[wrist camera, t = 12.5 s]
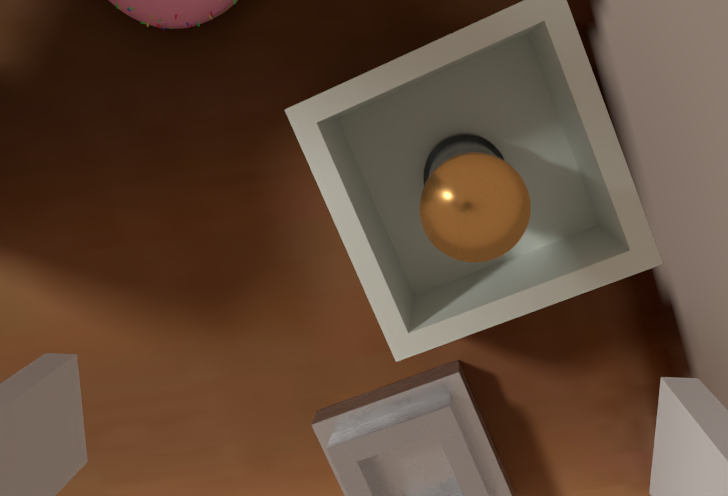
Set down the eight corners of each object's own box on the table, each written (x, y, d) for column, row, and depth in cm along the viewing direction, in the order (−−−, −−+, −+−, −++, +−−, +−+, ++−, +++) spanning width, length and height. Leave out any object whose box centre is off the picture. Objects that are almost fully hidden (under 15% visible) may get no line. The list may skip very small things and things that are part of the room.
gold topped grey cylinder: (432, 218, 41) (429, 274, 28) (417, 141, 40) (406, 164, 28) (510, 202, 40) (542, 253, 28) (496, 124, 39) (522, 140, 27)
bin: (314, 107, 41) (284, 109, 34) (537, 6, 39) (560, -17, 31) (404, 314, 44) (395, 361, 36) (622, 232, 41) (663, 263, 33)
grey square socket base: (316, 410, 46) (304, 440, 42) (458, 360, 44) (459, 385, 40) (376, 538, 47) (370, 577, 43) (515, 494, 45) (522, 531, 41)
